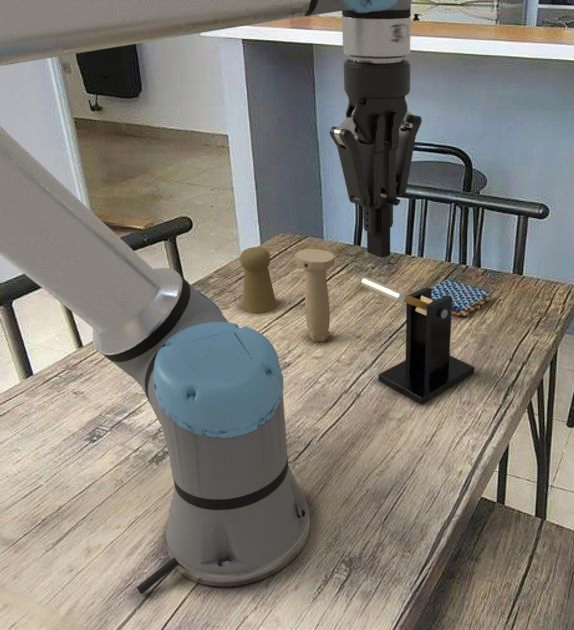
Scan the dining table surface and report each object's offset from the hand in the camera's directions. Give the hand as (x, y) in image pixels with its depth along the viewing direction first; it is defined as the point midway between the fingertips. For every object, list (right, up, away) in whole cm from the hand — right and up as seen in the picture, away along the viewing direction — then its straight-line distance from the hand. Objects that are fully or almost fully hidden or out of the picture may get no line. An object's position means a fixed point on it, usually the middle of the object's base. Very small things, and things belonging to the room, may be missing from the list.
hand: (378, 253), depth 87 cm
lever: (+3, -7, +8) cm, 11 cm away
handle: (-12, -12, +27) cm, 32 cm away
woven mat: (+12, -6, +41) cm, 43 cm away
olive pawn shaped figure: (-24, -6, +38) cm, 45 cm away
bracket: (+6, -17, +17) cm, 25 cm away
